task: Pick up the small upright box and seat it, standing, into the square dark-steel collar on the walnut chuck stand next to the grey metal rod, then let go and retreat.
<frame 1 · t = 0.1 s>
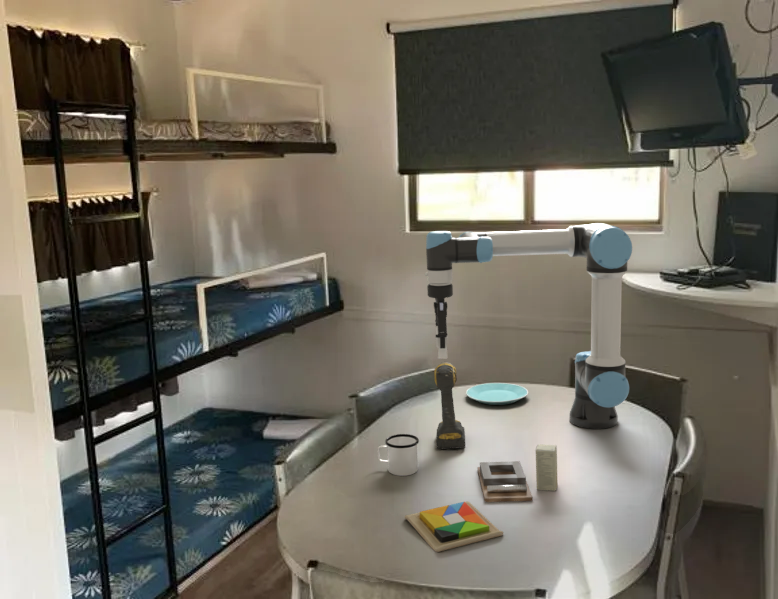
hand: (441, 352, 233), 28 cm above the table, fingers open, 13 cm apart
mug: (398, 470, 217), on the table
plate: (496, 399, 278), on the table
rod: (507, 495, 199), resting on chuck stand
wooden puzzle: (452, 530, 183), on the table
box: (546, 487, 203), on the table
chuck stand: (503, 484, 205), on the table
cordless drill: (450, 440, 239), on the table
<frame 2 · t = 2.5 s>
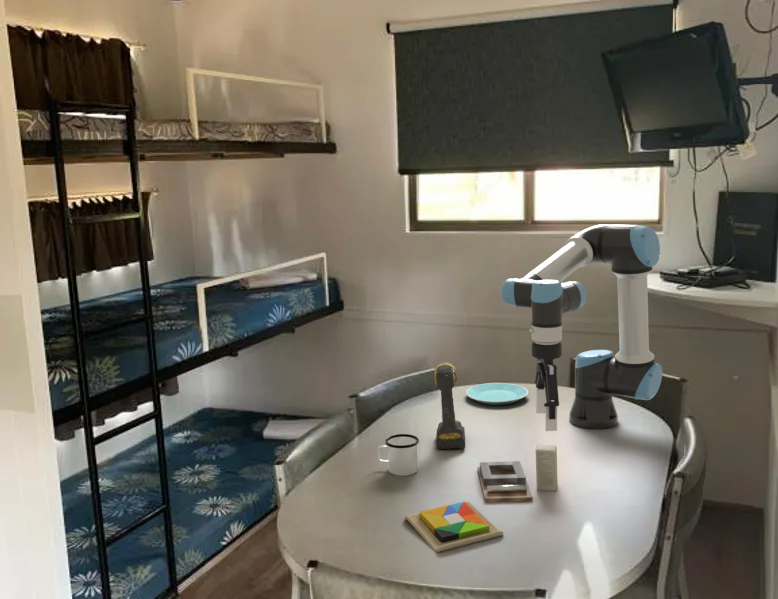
hand: (546, 421, 199), 18 cm above the table, fingers open, 13 cm apart
nothing on the table moved.
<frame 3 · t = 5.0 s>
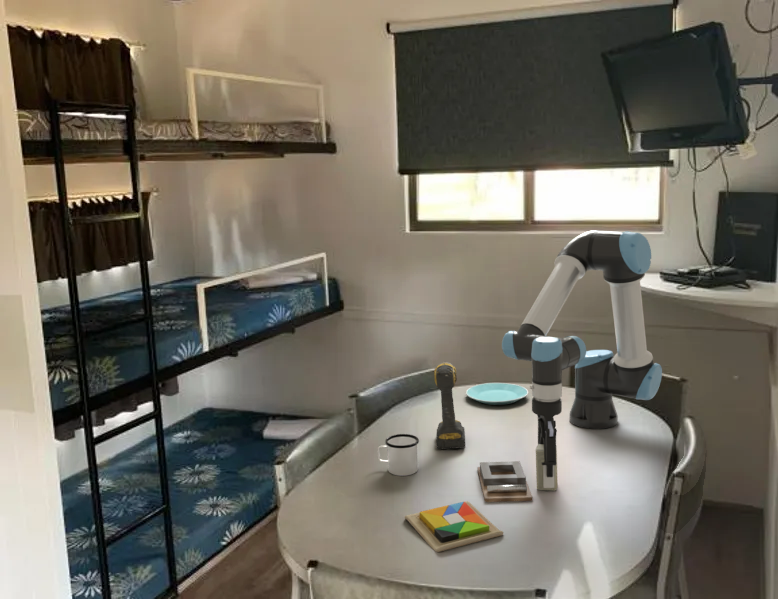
hand: (546, 482, 202), 1 cm above the table, fingers closed on box, 5 cm apart
box: (546, 487, 203), on the table, touching gripper
everything else where it was.
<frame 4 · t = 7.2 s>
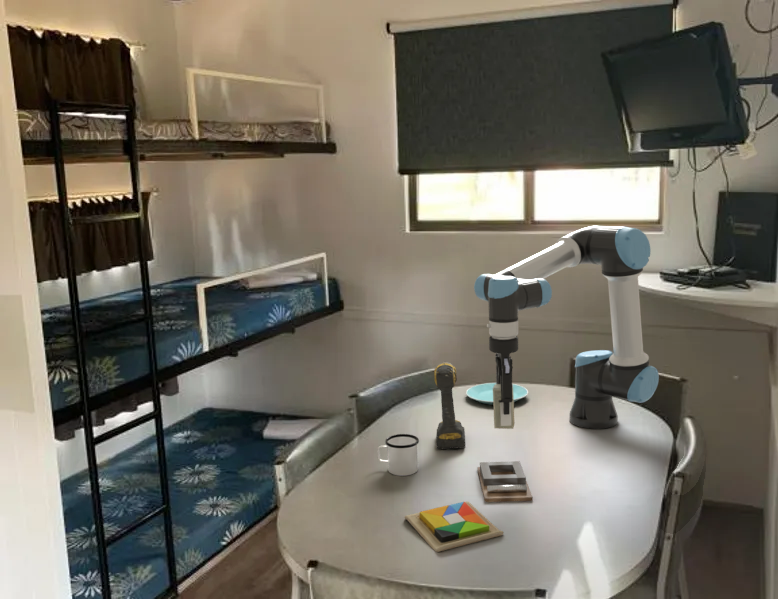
hand: (504, 421, 204), 17 cm above the table, fingers closed on box, 5 cm apart
box: (504, 426, 205), point 15 cm above the table, touching gripper
everything else where it was.
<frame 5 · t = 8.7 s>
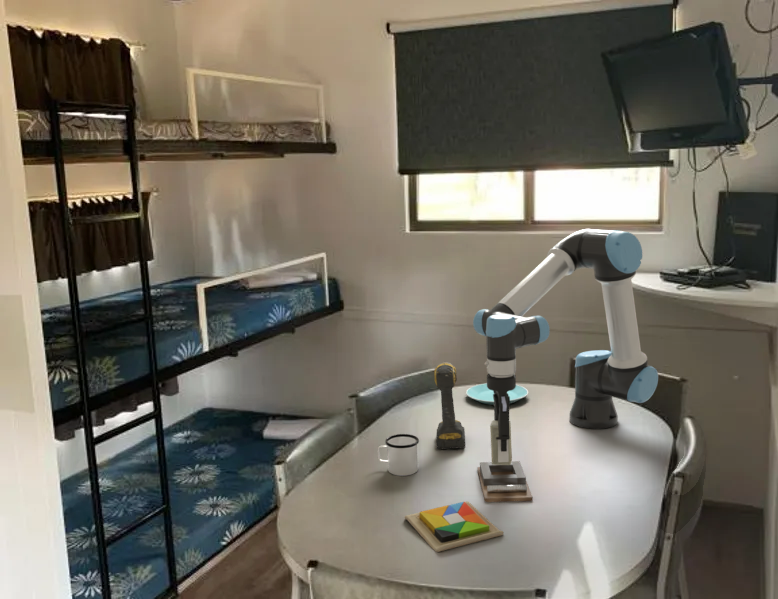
hand: (501, 457, 207), 7 cm above the table, fingers closed on box, 5 cm apart
box: (501, 462, 207), point 5 cm above the table, touching gripper
everything else where it was.
when the fingers open (4 cm above the table, at t = 9.7 s): box drops 2 cm, resting on chuck stand.
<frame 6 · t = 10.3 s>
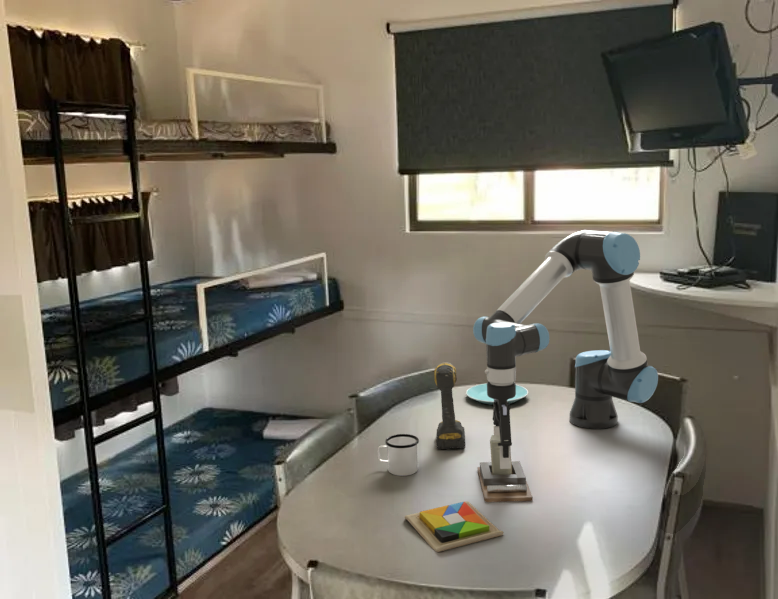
hand: (502, 458, 207), 6 cm above the table, fingers open, 13 cm apart
box: (502, 477, 208), point 1 cm above the table, touching chuck stand
everything else where it was.
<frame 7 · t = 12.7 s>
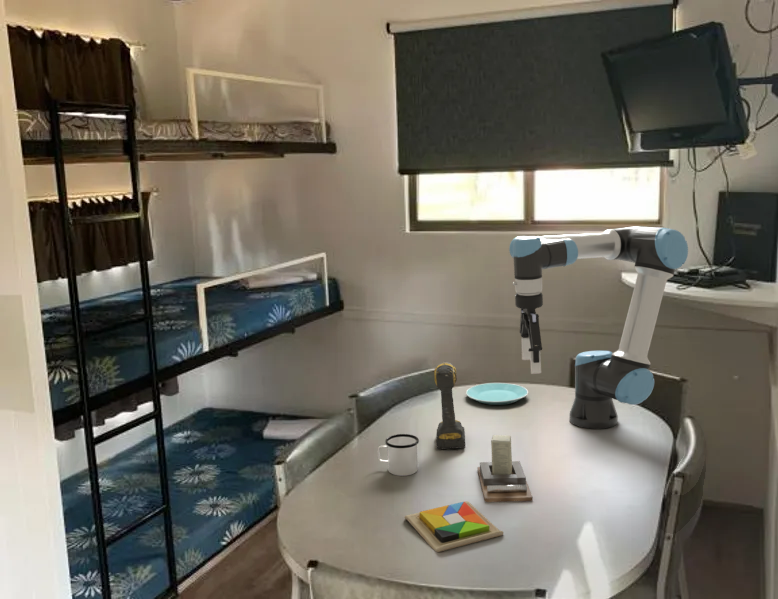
hand: (531, 366, 218), 27 cm above the table, fingers open, 13 cm apart
nothing on the table moved.
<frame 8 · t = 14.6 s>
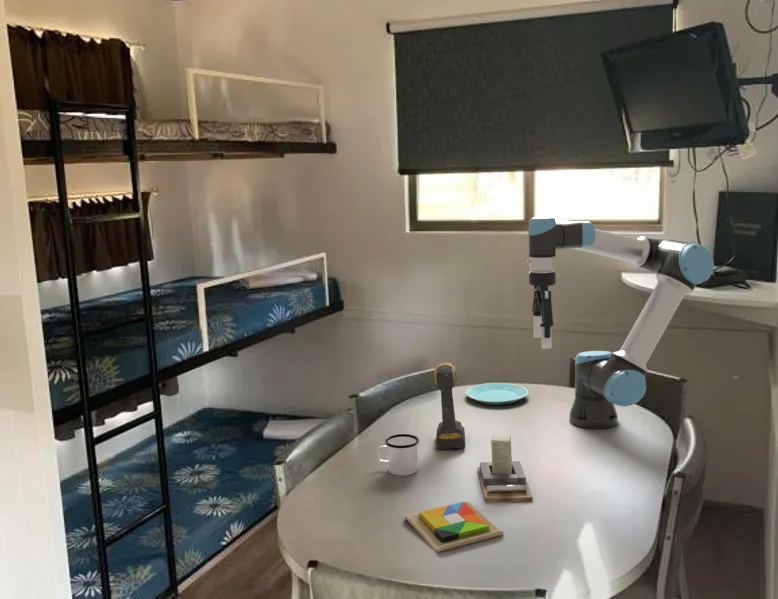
hand: (542, 342, 225), 32 cm above the table, fingers open, 13 cm apart
nothing on the table moved.
at the end: box 0.1 cm from the target spot on the chuck stand, point 0.8 cm above the chuck stand's base; box tilted 0°; the gripper is holding nothing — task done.
